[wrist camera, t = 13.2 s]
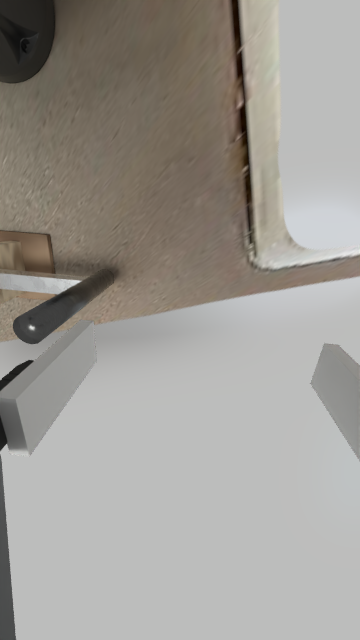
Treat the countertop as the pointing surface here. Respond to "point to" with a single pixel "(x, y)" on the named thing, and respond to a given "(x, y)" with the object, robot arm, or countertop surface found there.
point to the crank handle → (52, 299)
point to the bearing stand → (25, 259)
